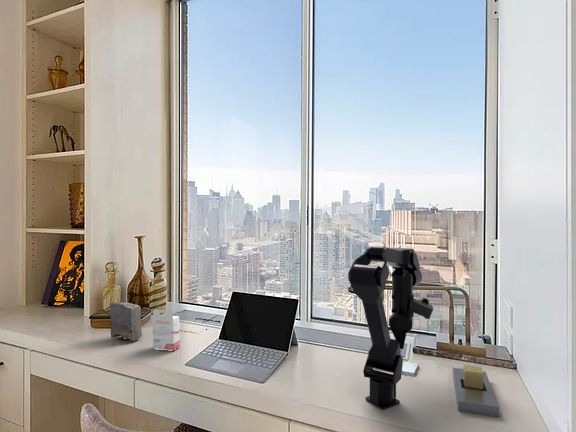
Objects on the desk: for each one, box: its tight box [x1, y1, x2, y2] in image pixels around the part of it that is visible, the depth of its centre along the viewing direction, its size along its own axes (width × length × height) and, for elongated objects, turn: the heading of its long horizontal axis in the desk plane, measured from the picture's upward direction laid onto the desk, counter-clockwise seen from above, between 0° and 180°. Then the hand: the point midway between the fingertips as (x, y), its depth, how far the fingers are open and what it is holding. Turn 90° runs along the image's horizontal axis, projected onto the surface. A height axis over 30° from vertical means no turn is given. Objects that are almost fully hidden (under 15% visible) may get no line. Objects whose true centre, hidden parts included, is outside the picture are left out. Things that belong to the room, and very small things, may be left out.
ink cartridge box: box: [152, 309, 181, 351], centre depth 142 cm, size 9×5×15 cm, turn 76°
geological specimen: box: [109, 301, 143, 342], centre depth 152 cm, size 11×6×15 cm, turn 67°
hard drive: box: [373, 360, 420, 377], centre depth 125 cm, size 2×8×12 cm
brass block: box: [462, 364, 484, 391], centre depth 106 cm, size 4×4×7 cm
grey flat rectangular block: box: [452, 367, 500, 418], centre depth 106 cm, size 22×9×2 cm, turn 161°
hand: (402, 343), depth 115 cm, fingers open, 9 cm apart
